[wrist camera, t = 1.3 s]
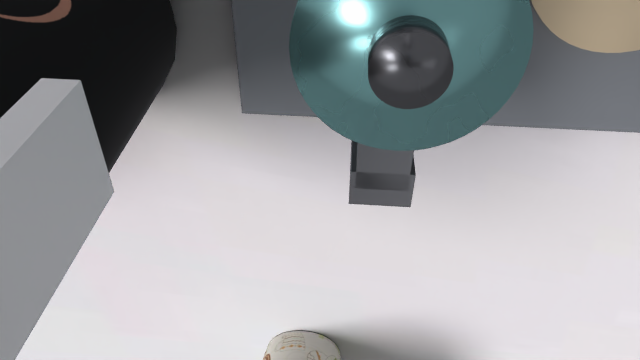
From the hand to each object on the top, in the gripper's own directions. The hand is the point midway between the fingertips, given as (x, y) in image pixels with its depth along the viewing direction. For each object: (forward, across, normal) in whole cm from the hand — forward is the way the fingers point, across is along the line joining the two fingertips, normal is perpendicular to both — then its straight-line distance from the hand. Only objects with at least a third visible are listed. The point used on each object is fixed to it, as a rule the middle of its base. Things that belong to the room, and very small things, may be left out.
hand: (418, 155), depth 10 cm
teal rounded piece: (+10, 0, 0) cm, 10 cm away
